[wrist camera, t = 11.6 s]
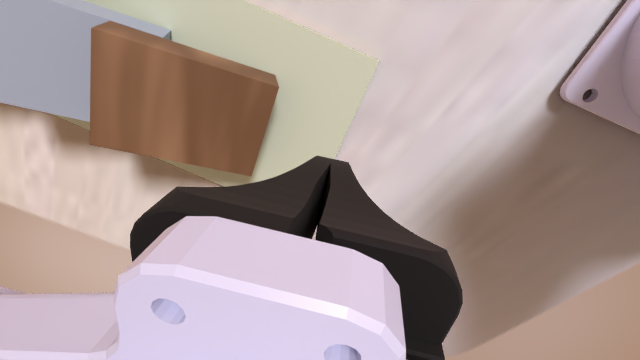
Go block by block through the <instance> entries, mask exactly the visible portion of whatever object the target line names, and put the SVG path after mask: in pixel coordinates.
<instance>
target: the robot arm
mask: <svg viewBox="0 0 640 360" xmlns="http://www.w3.org/2000/svg"><path fill="white" fill-rule="evenodd" d="M589 89H591V90H592V93H591V95H590V97H589V98H587V99H585V100H583V94H584V93H585V92H586V91H587V90H589ZM560 95H561V98H562V99H564V100H565V101H567V102H569V103H572V104H574V105H576V106H578V107H580V108H583V109H585V110H587V111H589V112H591V113H594V114H596V115H598V116H600V117H602V118H605V119H607V120H609V121H611V122H613V123H616V124H618V125H620V126H622V127H624V128H626V129H629V130H631V131H633V132H635V133H637V134H640V0H627V1H626V2H625V4H624V5H623V6H622V8H621V9H620V10H619V12H618V13H617V14H616V15H615V17H614V18H613V19H612V21H611V22H610V23H609V25H608V26H607V27H606V28H605V30H604V31H603V32H602V34H601V35H600V36H599V38H598V39H597V40H596V42H595V43H594V44H593V45H592V47H591V48H590V49H589V51H588V52H587V53H586V55H585V56H584V57H583V58H582V60H581V61H580V62H579V64H578V65H577V66H576V68H575V69H574V70H573V71H572V73H571V74H570V75H569V77H568V78H567V79H566V81H565V82H564V83H563V85H562V87H561V89H560ZM317 224H318V225H317ZM316 227H317V233H316V240H312V237H313V234H314V232H315V229H316ZM130 248H131V255H132V263H131V264H130V265H129V266H128V267H127V268H126V269H125V270H124V271H123V272H122V273H121V274H120V275H119V276H118V279H117V284H116V289H115V292H112V293H48V294H47V293H44V294H28V293H24V292H20V291H16V290H12V289H9V288H5V287H1V286H0V360H445V357H444V353H443V348H442V342H443V341H444V339H445V337H446V335H447V334H448V332H449V330H450V328H451V327H452V325H453V323H454V322H455V320H456V318H457V316H458V314H459V312H460V309H461V306H462V303H463V302H462V289H461V286H460V283H459V280H458V277H457V274H456V271H455V268H454V266H453V263H452V261H451V259H450V257H449V254H448V252H447V250H445V249H443V248H441V247H439V246H437V245H435V244H433V243H431V242H429V241H427V240H425V239H423V238H421V237H419V236H417V235H415V234H414V233H412V232H410V231H409V230H407V229H406V228H404V227H403V226H401V225H400V224H398V223H397V222H395V221H394V220H393V219H392V218H390V217H389V216H388V215H387V214H385V213H384V212H383V211H382V210H381V209H380V208H379V207H378V206H377V205H376V204H375V203H374V202H373V201H372V200H371V199H370V198H369V196H368V195H367V194H366V193H365V191H364V190H363V189H362V187H361V186H360V184H359V182H358V181H357V179H356V177H355V175H354V173H353V171H352V169H351V166H350V165H349V163H348V162H344V161H340V160H335V159H331V158H326V157H322V156H315V157H313V158H312V159H310V160H308V161H307V162H305V163H303V164H302V165H300V166H298V167H296V168H294V169H292V170H290V171H288V172H286V173H283V174H281V175H279V176H276V177H273V178H270V179H266V180H263V181H259V182H254V183H249V184H243V185H237V186H227V187H176V188H175V189H173V190H172V191H171V192H170V193H168V194H167V195H166V196H165V197H163V198H162V199H161V200H160V201H159V202H157V203H156V204H155V205H154V206H153V207H151V208H150V209H149V210H148V211H147V212H145V213H144V214H143V215H142V216H141V217H140V218H139V219H138V220H137V221H136V222H135V224H134V226H133V229H132V231H131V234H130Z"/></svg>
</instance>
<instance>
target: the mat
mask: <svg viewBox="0 0 640 360" xmlns="http://www.w3.org/2000/svg"><path fill="white" fill-rule="evenodd" d="M83 1H86V2H89V3H92V4H95V5H98V6H101V7H104V8H107V9H110V10H113V11H116V12H119V13H122V14H125V15H128V16H131V17H134V18H137V19H140V20H143V21H146V22H149V23H152V24H155V25H158V26H161V27H164V28H166V29H169V30H171V35H170V40H171V41H174V42H177V43H180V44H183V45H186V46H189V47H192V48H195V49H198V50H201V51H204V52H207V53H210V54H213V55H216V56H219V57H222V58H225V59H229V60H232V61H235V62H238V63H241V64H244V65H247V66H250V67H253V68H256V69H259V70H262V71H265V72H268V73H271V74H274V75H275V76H276V79H277V82H278V85H279V89H278V93H277V96H276V99H275V102H274V106H273V109H272V112H271V115H270V118H269V122H268V125H267V128H266V131H265V135H264V138H263V141H262V144H261V148H260V151H259V154H258V157H257V160H256V164H255V167H254V170H253V173H252V177H251V176H246V175H241V174H236V173H231V172H226V171H221V170H216V169H211V168H205V167H200V166H195V165H190V164H185V163H180V162H175V161H170V160H165V159H160V158H157V159H159V160H162V161H164V162H166V163H169V164H171V165H173V166H176V167H178V168H181V169H183V170H185V171H188V172H190V173H193V174H195V175H197V176H200V177H202V178H205V179H207V180H209V181H212V182H214V183H217V184H219V185H221V186H224V187H227V186H237V185H243V184H249V183H254V182H259V181H263V180H266V179H270V178H273V177H276V176H279V175H281V174H283V173H286V172H288V171H290V170H292V169H294V168H296V167H298V166H300V165H302V164H303V163H305V162H307V161H308V160H310V159H312V158H313V157H315V156H322V157H326V158H331V159H335V157H336V155H337V153H338V151H339V148H340V146H341V144H342V142H343V140H344V138H345V135H346V133H347V131H348V129H349V127H350V125H351V122H352V120H353V118H354V116H355V114H356V112H357V109H358V107H359V105H360V103H361V101H362V99H363V96H364V94H365V92H366V90H367V88H368V86H369V83H370V81H371V79H372V77H373V75H374V73H375V70H376V68H377V66H378V64H379V62H380V60H378V59H375V58H373V57H371V56H369V55H367V54H364V53H362V52H360V51H358V50H355V49H353V48H351V47H349V46H346V45H344V44H342V43H340V42H338V41H335V40H333V39H331V38H329V37H326V36H324V35H322V34H320V33H317V32H315V31H313V30H311V29H309V28H306V27H304V26H302V25H300V24H297V23H295V22H293V21H291V20H288V19H286V18H284V17H282V16H280V15H277V14H275V13H273V12H271V11H268V10H266V9H264V8H262V7H259V6H257V5H255V4H253V3H251V2H248V1H246V0H83ZM49 114H50V113H49ZM51 115H54V116H56V117H58V118H61V119H63V120H66V121H68V122H70V123H73V124H75V125H78V126H80V127H82V128H85V129H87V130H90V122H88V121H83V120H78V119H74V118H69V117H64V116H60V115H55V114H51ZM154 158H155V157H154Z"/></svg>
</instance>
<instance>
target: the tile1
mask: <svg viewBox="0 0 640 360" xmlns="http://www.w3.org/2000/svg"><path fill="white" fill-rule="evenodd" d="M278 89H279V85H278V82H277V79H276V76H275V75H274V74H271V73H268V72H265V71H262V70H259V69H256V68H253V67H250V66H247V65H244V64H241V63H238V62H235V61H232V60H229V59H225V58H222V57H219V56H216V55H213V54H210V53H207V52H204V51H201V50H198V49H195V48H192V47H189V46H186V45H183V44H180V43H177V42H174V41H171V40H168V39H165V38H162V37H159V36H155V35H152V34H149V33H146V32H143V31H140V30H137V29H134V28H131V27H128V26H125V25H122V24H119V23H116V22H113V21H108V22H105V23H102V24H100V25H97V26H95V27H92V28H91V73H90V145H95V146H100V147H105V148H110V149H115V150H120V151H125V152H130V153H135V154H140V155H145V156H150V157H155V158H160V159H165V160H170V161H175V162H180V163H185V164H190V165H195V166H200V167H205V168H211V169H216V170H221V171H226V172H231V173H236V174H241V175H246V176H251V177H252V173H253V170H254V167H255V164H256V160H257V157H258V154H259V151H260V148H261V144H262V141H263V138H264V135H265V131H266V128H267V125H268V122H269V118H270V115H271V112H272V109H273V106H274V102H275V99H276V96H277V93H278Z"/></svg>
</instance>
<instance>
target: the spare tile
mask: <svg viewBox="0 0 640 360" xmlns="http://www.w3.org/2000/svg"><path fill="white" fill-rule="evenodd" d="M108 21H113V22H116V23H119V24H122V25H125V26H128V27H131V28H134V29H137V30H140V31H143V32H146V33H149V34H152V35H155V36H159V37H162V38H165V39H168V40H170V35H171V30H169V29H166V28H164V27H161V26H158V25H155V24H152V23H149V22H146V21H143V20H140V19H137V18H134V17H131V16H128V15H125V14H122V13H119V12H116V11H113V10H110V9H107V8H104V7H101V6H98V5H95V4H92V3H89V2H86V1H83V0H0V103H4V104H9V105H13V106H18V107H23V108H27V109H32V110H37V111H41V112H46V113H50V114H55V115H60V116H64V117H69V118H74V119H78V120H83V121H88V122H90V73H91V28H92V27H95V26H97V25H100V24H102V23H105V22H108Z"/></svg>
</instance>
